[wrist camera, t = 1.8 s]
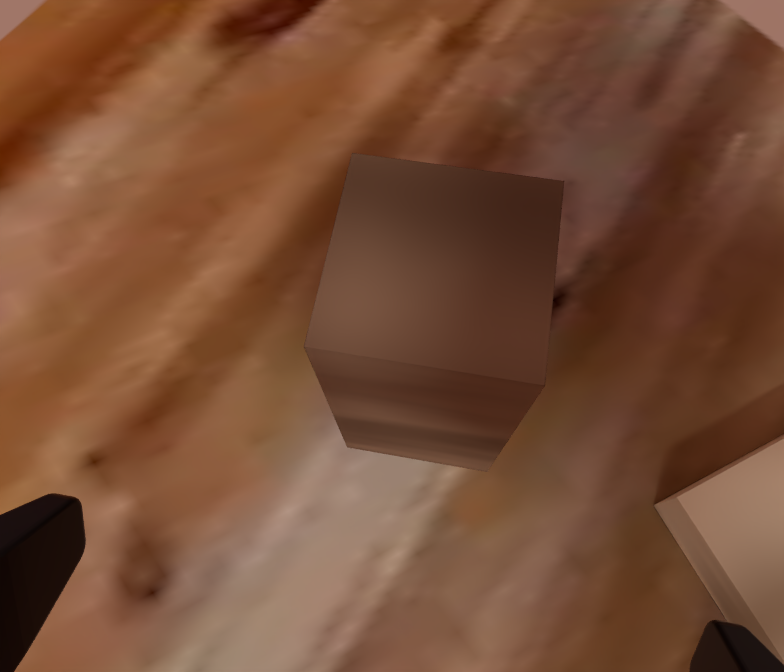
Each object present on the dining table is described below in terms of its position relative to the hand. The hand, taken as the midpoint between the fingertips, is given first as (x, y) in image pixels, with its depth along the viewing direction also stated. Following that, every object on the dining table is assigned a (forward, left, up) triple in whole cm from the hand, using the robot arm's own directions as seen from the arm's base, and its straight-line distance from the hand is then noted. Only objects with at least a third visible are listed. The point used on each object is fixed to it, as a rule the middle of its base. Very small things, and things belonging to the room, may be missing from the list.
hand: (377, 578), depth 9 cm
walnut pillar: (+5, -4, -13) cm, 14 cm away
